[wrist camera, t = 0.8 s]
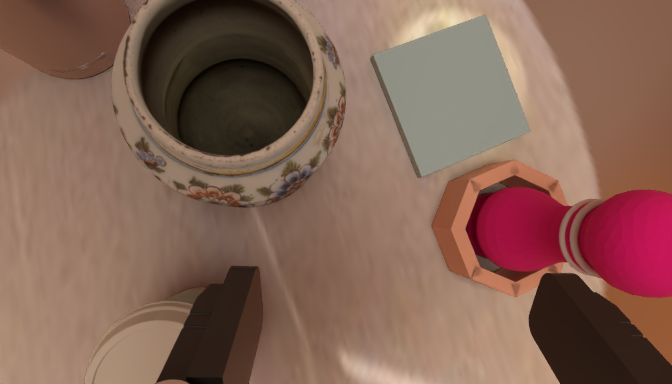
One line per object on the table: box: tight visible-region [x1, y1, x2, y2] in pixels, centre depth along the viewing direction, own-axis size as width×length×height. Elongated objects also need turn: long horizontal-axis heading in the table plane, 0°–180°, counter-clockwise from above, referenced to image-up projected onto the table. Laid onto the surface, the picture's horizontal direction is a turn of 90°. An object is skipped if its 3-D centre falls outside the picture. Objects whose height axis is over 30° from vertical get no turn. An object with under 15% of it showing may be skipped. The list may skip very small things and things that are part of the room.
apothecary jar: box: [112, 0, 346, 207], centre depth 25 cm, size 12×12×18 cm
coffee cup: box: [84, 287, 206, 384], centre depth 27 cm, size 9×8×12 cm
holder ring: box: [432, 160, 568, 297], centre depth 35 cm, size 11×11×4 cm
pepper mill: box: [465, 187, 672, 298], centre depth 27 cm, size 7×7×20 cm
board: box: [371, 14, 531, 178], centre depth 36 cm, size 12×12×1 cm
